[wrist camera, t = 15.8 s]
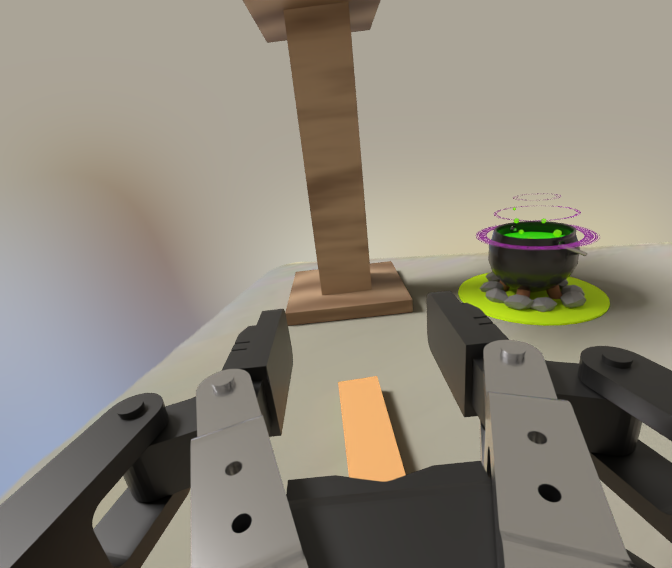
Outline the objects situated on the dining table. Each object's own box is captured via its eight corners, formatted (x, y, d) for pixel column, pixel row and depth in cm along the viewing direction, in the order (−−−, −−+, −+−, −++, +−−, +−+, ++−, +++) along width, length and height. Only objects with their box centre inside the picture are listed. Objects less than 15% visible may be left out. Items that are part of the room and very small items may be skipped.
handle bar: (567, 1091, 8) (579, 1075, 7) (427, 1117, 7) (421, 1104, 7) (380, 402, 28) (377, 376, 27) (342, 408, 28) (338, 382, 27)
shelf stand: (416, 318, 38) (403, -66, 26) (286, 332, 38) (217, -42, 27) (391, 270, 52) (376, 9, 41) (297, 281, 53) (256, 24, 41)
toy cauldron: (650, 313, 34) (677, 196, 30) (500, 337, 33) (508, 219, 29) (546, 266, 48) (555, 182, 44) (438, 282, 47) (437, 197, 43)
